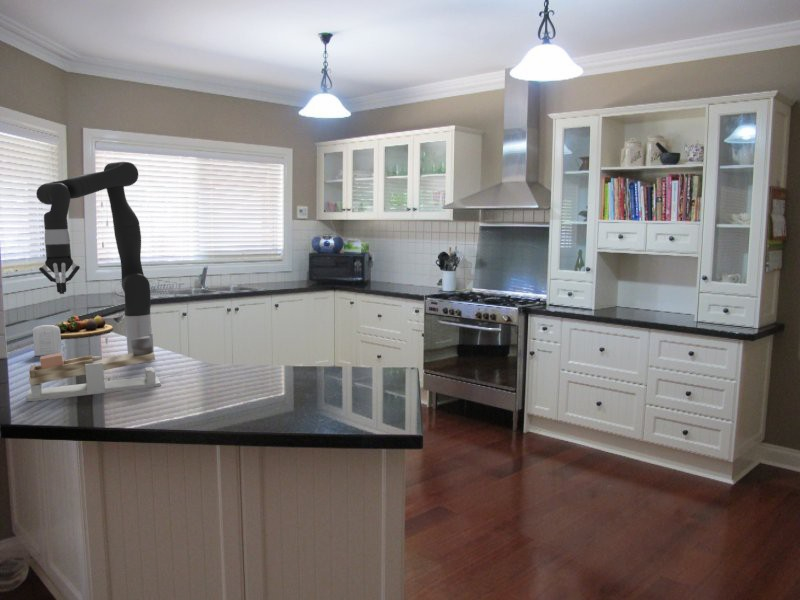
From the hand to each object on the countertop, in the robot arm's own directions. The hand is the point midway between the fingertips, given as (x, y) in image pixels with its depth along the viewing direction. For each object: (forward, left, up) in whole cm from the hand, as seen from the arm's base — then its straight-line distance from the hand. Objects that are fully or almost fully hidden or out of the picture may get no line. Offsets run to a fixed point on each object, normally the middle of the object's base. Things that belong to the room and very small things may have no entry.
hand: (61, 293), depth 229 cm
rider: (+3, +25, -22) cm, 33 cm away
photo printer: (+8, -48, -29) cm, 57 cm away
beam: (-8, +25, -23) cm, 35 cm away
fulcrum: (-8, +25, -29) cm, 39 cm away
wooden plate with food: (-3, -103, -30) cm, 108 cm away
